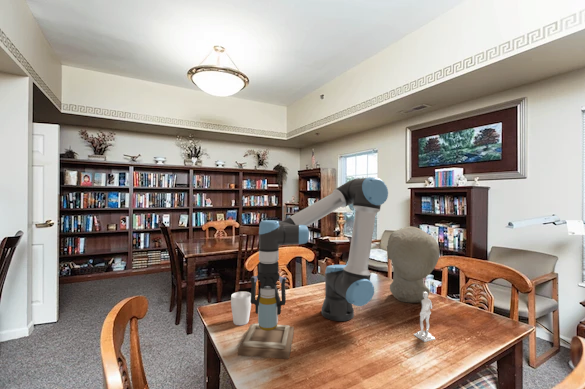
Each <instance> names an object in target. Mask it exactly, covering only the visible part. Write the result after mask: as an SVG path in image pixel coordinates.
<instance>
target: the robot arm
mask: <svg viewBox="0 0 585 389" xmlns="http://www.w3.org/2000/svg"><path fill="white" fill-rule="evenodd" d="M388 198H389V190H388V186H387V184H386V183H385V181H384V180H382V179H381V178H379V177H373V176H372V177H371V176H369V177H362V178H354V179H351V180H349V181H347V182H345V183H344V184H342V185H340V186H338V187H336V188H335V189H333V190H332V192H331V193H330V194H328V195H326V196H325V197H323V198H321V199H320V200H317V201H316V202H314V203H312V204H311V205H309V206H307V207H305V208H303V209H301V210H299V211H298V212H296V213H294V214H293V215H291V216H289V217H287V218H285V219H283V220H279V221H278V220H276V219H275V220H273V219H272V220H271V219H269V220H268V219H266V220H261V221H260V222H259V228H258V261H259V262H258V273H257V275H252V276H251V277H250V282H251V290H250V293H251V305H255V306H254V307H255V311H254V312H255V315H256V314H257V324H259V299H260V297H261V296H260V295H261V294H260V289H261V288H262V289H263V288H264V287H266V286H269V287H272V289H275V299H276V303H277V307H276V325H278V323H279V315H281V312H282V306H285V304H286V303H287V300H286V295H287V294H286V281H287V277H286V276H284V277H283V276H281V275H280V273H279V270H280V269H279V264H280V263H279V258H280V257H279V252H280V251H279V250H280V246H283V245H284V246H285V245H286V246H288V245H303V244H307V243H308V242H309V240H310V239H309V238H310V231H309V228H308V227H309V226H311V225H313V224H314V223H315V222H317V221H319V220H321V219H323V218H324V217H326V216H327V215H329V214H331V213H333V212H334V211H336V210H338V209H340V208H343V209H344V208H346V207H347V206H351V205H352V208H353V209H354V210H355V214H354V220H353V227H352V233H351V239H350V244H349V245H350V247H349V254H348V260H347V264H331V265H327V266H326V268H325V271H324V272H325V273H324V274H325V276H324V278H325V279H324V280H325V281H324V282H325V285H324V286H325V290H324V293H325V296H324V299H323V303H322V305H321V312H320V313H321V316H322V317H324V318H325V319H327V320H330V321H334V322H335V321H336V322H346V321H350V320H352V319H353V318H354V316H355V312H354V306H356V307H362V306H366V305H367V304H368V303H370V301H371V300H372V299H373V297H374V294H375V286H374V285H373V282H372V281H371V275H372V273H371V272H370V270H369V262H370V256H371V249H372V242H373V235H374V229H375V228H374V227H375V221H376V215H377V213H379V212H380V211H381V207H382V205H383V204H385V202H386V201H387V200H388ZM258 281H259V283H260V284H261V285H260V287H259V290H258V294H257V293H256V292H257V282H258ZM278 281H279V283H280V290H281V291H280V292H281V296H280V294H279V290H278V285H277V282H278ZM276 288H277V289H276ZM256 294H257V297H256ZM280 297H281V298H280Z"/></svg>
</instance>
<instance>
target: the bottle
mask: <svg viewBox="0 0 585 389" xmlns="http://www.w3.org/2000/svg"><path fill="white" fill-rule="evenodd" d="M276 289H277V290H278V287H277V288H276ZM259 290H260V294H261V295H260V296H261V297H260V299H259V327H260V328H261V329H262V330H265V331H270V330H273V329H275V328H276V327H277V325H278V324H277V325H276V307H277V303H276V299H275V289H272V287H269V286H266V287H264V288H263V289H262V288H261V289H260V288H259Z"/></svg>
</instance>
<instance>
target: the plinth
mask: <svg viewBox="0 0 585 389" xmlns="http://www.w3.org/2000/svg"><path fill="white" fill-rule="evenodd" d="M294 327H295V326H290V325H288V324H277V327H276V328H275V329H273V330H270V331H265V330H262V329H261V328H260V327H259V324H258V323H254V322H253V323H252V324H251V323H250V325H249V326H248V328H247V331H246V332H245V334H244V336H243V338H242V339H241V342H240V344H239V345H238V347H237V356H241V357H256V358H258V357H259V358H271V359H287V360H288V359H290V355H291V349H292V344H293V338H294V333H295V332H294V331H295V329H294Z"/></svg>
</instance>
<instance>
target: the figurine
mask: <svg viewBox="0 0 585 389" xmlns="http://www.w3.org/2000/svg"><path fill="white" fill-rule="evenodd" d="M423 297H424V299H423V300H422V302H420V304H421V310H420V312H419V316H420V317H419V326H420V327H419V328H420V330H418V331H417V332H416V333H413V336H415V337H416V338H417V339H419V340H420V341H422V342H424V343H427V342H430V341H433V340H436V338H435V336H434V335H432V333H430V332H429V330H430V321H429V320H430V317H431V316H430V315H431V314H432V311H431V310H432V309H433V304H432V300H431V299H430V298H429V295H428V293H427V292H423ZM427 297H428V298H427ZM424 320H425V323H426V325H425V326H426V327H425V328H426V329H425V330H424Z"/></svg>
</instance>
